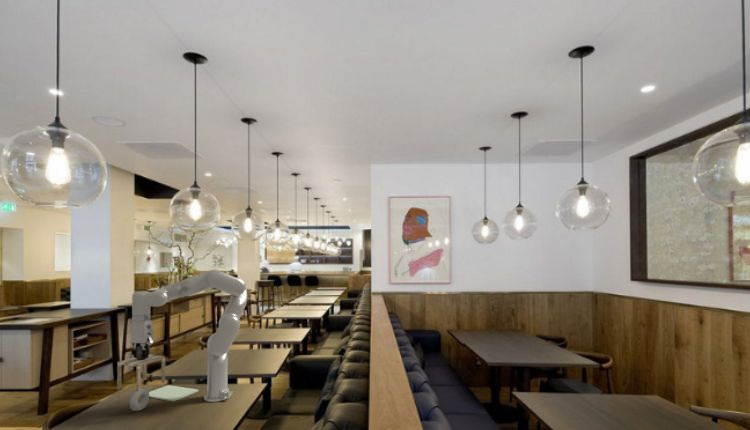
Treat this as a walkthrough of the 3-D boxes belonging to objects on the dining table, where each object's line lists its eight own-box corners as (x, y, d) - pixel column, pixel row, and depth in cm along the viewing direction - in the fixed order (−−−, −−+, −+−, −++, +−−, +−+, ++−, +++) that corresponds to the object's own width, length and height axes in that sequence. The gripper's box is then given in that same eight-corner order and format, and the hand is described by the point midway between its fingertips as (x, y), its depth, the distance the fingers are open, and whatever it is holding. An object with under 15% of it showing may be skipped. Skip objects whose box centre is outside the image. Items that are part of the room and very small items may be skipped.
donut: (133, 415, 192) (133, 392, 192) (127, 414, 193) (127, 391, 193) (151, 407, 201) (151, 385, 202) (145, 406, 202) (145, 384, 203)
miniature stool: (165, 382, 202) (164, 343, 203) (138, 391, 189) (138, 350, 190) (145, 379, 207) (144, 341, 208) (117, 388, 194) (117, 348, 196)
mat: (198, 391, 222) (198, 389, 222) (172, 401, 208) (172, 399, 208) (168, 386, 231) (168, 385, 231) (141, 396, 217) (141, 394, 217)
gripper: (160, 317, 200) (161, 356, 199) (136, 316, 207) (136, 354, 206) (146, 320, 193) (146, 361, 192) (122, 319, 200) (122, 358, 199)
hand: (141, 357), depth 199 cm, fingers closed on miniature stool, 4 cm apart
